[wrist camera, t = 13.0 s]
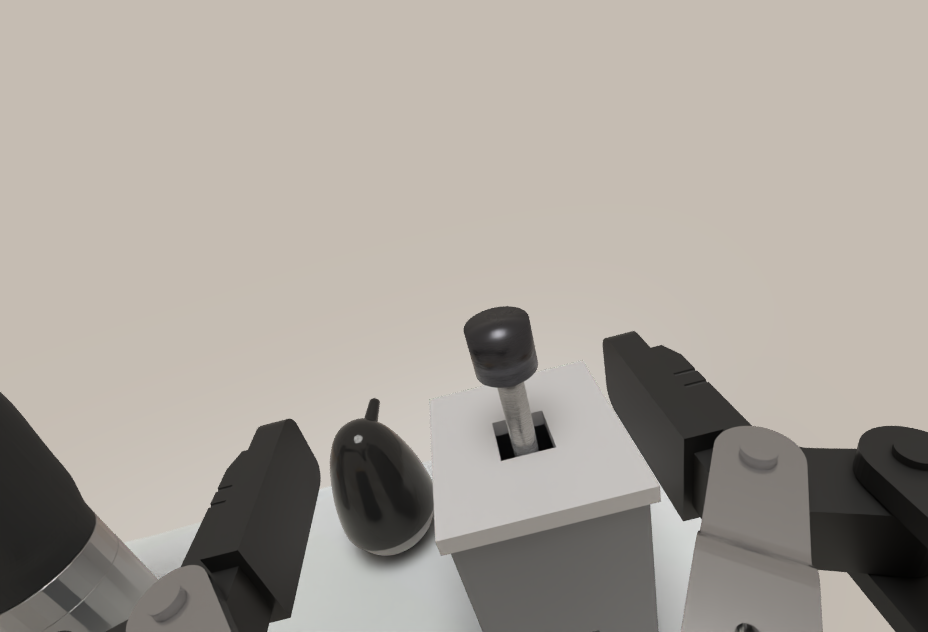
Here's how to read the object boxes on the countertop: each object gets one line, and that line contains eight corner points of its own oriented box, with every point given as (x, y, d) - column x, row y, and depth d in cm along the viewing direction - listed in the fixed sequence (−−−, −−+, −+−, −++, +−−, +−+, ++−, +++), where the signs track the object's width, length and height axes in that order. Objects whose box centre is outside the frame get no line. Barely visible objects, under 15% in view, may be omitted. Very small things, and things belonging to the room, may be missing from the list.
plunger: (530, 672, 34) (430, 381, 21) (511, 575, 41) (426, 309, 28) (627, 648, 34) (587, 340, 21) (592, 555, 40) (545, 278, 27)
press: (511, 721, 33) (435, 541, 23) (485, 547, 45) (428, 382, 35) (669, 683, 32) (660, 486, 23) (599, 518, 45) (573, 344, 35)
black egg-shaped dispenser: (453, 487, 53) (416, 386, 46) (432, 575, 44) (382, 467, 37) (375, 488, 55) (329, 393, 48) (340, 570, 47) (278, 469, 40)
